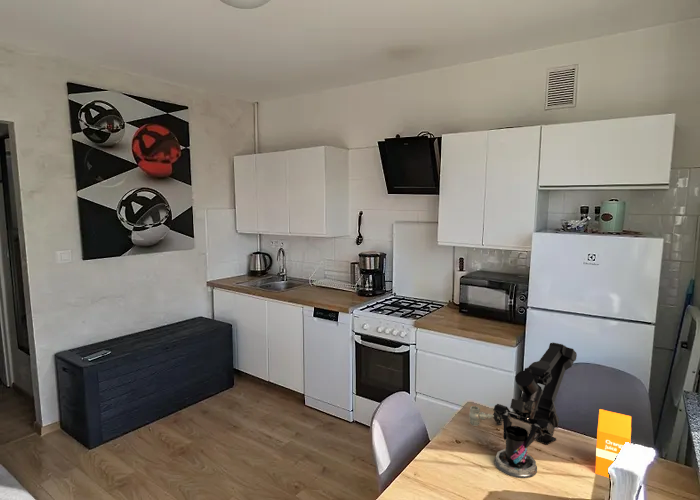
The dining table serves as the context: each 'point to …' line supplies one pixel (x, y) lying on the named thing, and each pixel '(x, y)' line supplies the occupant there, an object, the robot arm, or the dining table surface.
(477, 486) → the dining table surface
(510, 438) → the supplement container
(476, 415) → the valve
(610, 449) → the orange juice
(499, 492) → the dining table surface
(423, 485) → the dining table surface
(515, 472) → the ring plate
